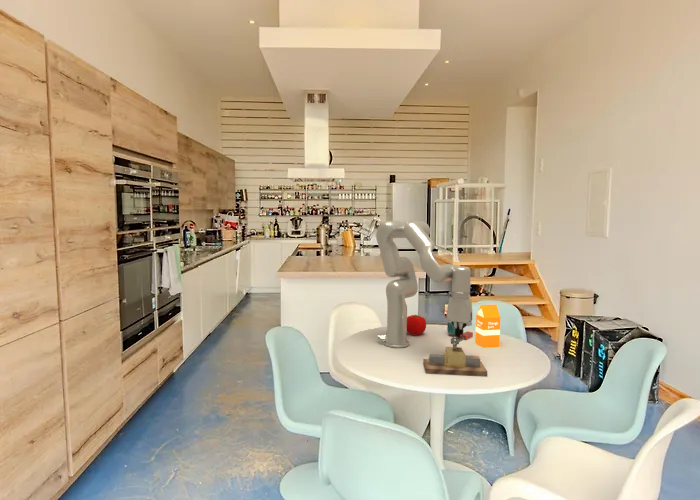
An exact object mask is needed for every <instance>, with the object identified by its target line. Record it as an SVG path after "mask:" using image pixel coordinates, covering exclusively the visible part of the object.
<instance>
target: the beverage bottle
mask: <svg viewBox="0 0 700 500" xmlns="http://www.w3.org/2000/svg"><path fill="white" fill-rule="evenodd" d="M446 325H447V326H446V327H447V329H446V330H447V334H449V335H455V328H454V326H453V324H452V323H449V322H448V321H447V324H446ZM459 327H460V323H459Z"/></svg>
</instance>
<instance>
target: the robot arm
mask: <svg viewBox="0 0 700 500" xmlns="http://www.w3.org/2000/svg"><path fill="white" fill-rule="evenodd" d="M375 233H376V234H375V238H376V242H377V245H378V249H379V251H380V256H381V261H382V265H383V270H384V273H385V275H386V276H387V277H389V278H397V277H398V279H393V280H390V281H389V282H388V283H387V284H386V286H385V287H386V288H385V294H386V301H387V304H386V305H387V314H386V315H387V317H386V319H387V321H386V334H383V335H381V334H377V340H379V341H383V345H384V346H386V347H389V348H396V349H401V348H402V349H403V348H408V347H409V346H410V343H411V342H410V341H409V340H407V338H408V337H407V334H408V333H407V317H408V306H407V305H408V304H407V302H406V299H408V298H409V299H410V298H411V297H414V296H416V294H417V293H418V289H419V286H418V281H417V280H418V279H417V276H416V271H415V268H414V265H413V262H412V260H411V259H410V258H408V257H406V256H400V254H399V248H398V247H397V245H396V243H395V242H394V241H393V240H394V239H406V240H407V241H408V242H409V244H411V246H412V247H413V248H414V249H415V250H414V251H416V252H417V253H418V256H419V263H420V265H421V268H422V269H423V271H424V272H425V273H426V275H427V277H428V278H429V279H430V280H431V281H433V282H434V283H437V284H439V283H440V284H441V283H446V282H451V291H448V294H449V295H451V296H450V297H449V298H448V303H447V308H446V320H447V323H448V322H449V323H452V324H453V326H454V328H455V334H454V336H456V337H460V335H461V334H463V333H464V329H465V328H466V327H471V326H472V325H473V322H472V321H473V304H472V299H471V296H470V295H471V277H472V275H471V274H472V270H471V268H470V267H468V266H463V265H460V266H459V265H456V264H451V263H447V264H446V263H445V264H439V263H438V262H437V260H436V259H435V258H434V255H433V253H432V252H433V250H434V249H435V247H436V246H435V245H436V243H435V241H433V239H431V238H430V233H431V228H430V226H429V224H428V223H427V222H425V221H419V220H418V221H417V220H414V221H413V220H386V221H384V222H381V223H380V224H379V226H378V227H377V230H376V232H375ZM459 323H460V327H459Z"/></svg>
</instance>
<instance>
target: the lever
mask: <svg viewBox="0 0 700 500" xmlns="http://www.w3.org/2000/svg"><path fill="white" fill-rule="evenodd" d="M473 335H474V332H471V331H466V332H463V334H461V335H460V337H456V335H452V337H451V338H450V344H452V345H453V344H455V345H457V346H458V345H460V342H462V341H468V340H470V339H472V338H473V337H474V336H473Z"/></svg>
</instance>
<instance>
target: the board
mask: <svg viewBox="0 0 700 500" xmlns="http://www.w3.org/2000/svg"><path fill="white" fill-rule="evenodd" d="M422 362H423V363H422V364H423V369H424V373H426V374H427V375H428V374H429V375H430V374H431V375H446V376H447V375H450V376H468V377H470V376H471V377H488V371H487V368H486V367H485V365H484V364H483V362H482V361H481V360H480V368H478V367H463V368H453V367H447V366H435V365H430V364H429V358H423V361H422ZM426 374H425V375H426Z"/></svg>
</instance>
